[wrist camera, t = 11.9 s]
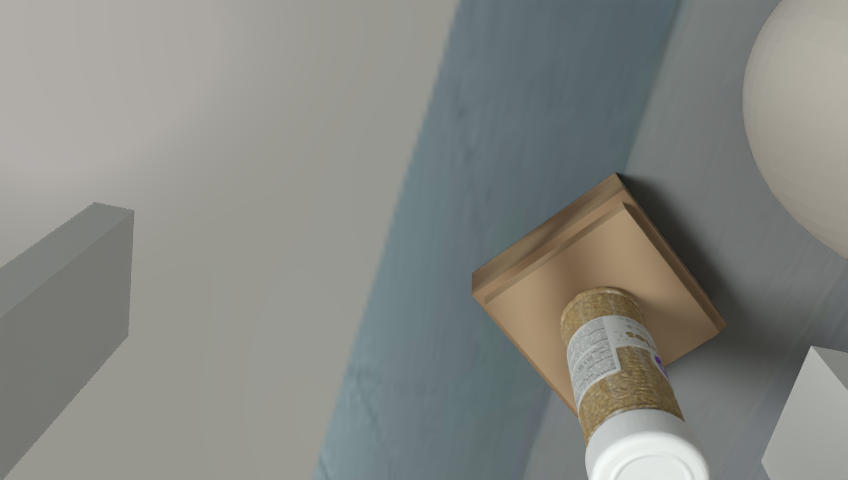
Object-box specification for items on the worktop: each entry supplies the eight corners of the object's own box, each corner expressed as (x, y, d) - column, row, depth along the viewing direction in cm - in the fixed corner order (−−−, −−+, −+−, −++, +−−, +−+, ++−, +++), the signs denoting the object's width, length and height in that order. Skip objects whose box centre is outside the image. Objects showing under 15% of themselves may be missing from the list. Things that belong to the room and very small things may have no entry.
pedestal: (615, 172, 43) (627, 195, 39) (712, 301, 45) (733, 334, 42) (472, 273, 46) (471, 303, 42) (571, 389, 48) (579, 427, 45)
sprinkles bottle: (660, 323, 42) (738, 491, 29) (595, 373, 43) (642, 553, 31) (605, 267, 41) (661, 415, 28) (539, 319, 42) (566, 483, 30)
